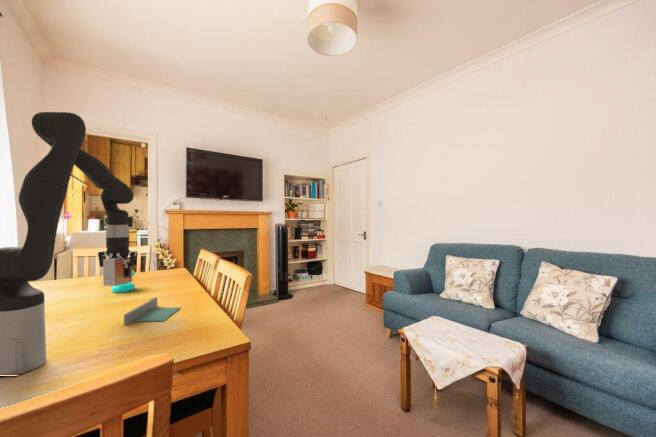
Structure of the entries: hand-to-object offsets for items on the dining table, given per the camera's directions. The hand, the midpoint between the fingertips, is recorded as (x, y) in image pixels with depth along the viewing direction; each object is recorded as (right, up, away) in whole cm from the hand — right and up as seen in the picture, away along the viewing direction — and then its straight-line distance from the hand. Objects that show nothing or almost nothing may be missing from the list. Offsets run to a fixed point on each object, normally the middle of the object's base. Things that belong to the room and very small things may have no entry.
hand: (118, 276), depth 112 cm
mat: (+15, -16, +2) cm, 22 cm away
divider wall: (+9, -16, +1) cm, 18 cm away
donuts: (-23, -15, +34) cm, 44 cm away
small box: (0, -3, 0) cm, 3 cm away
